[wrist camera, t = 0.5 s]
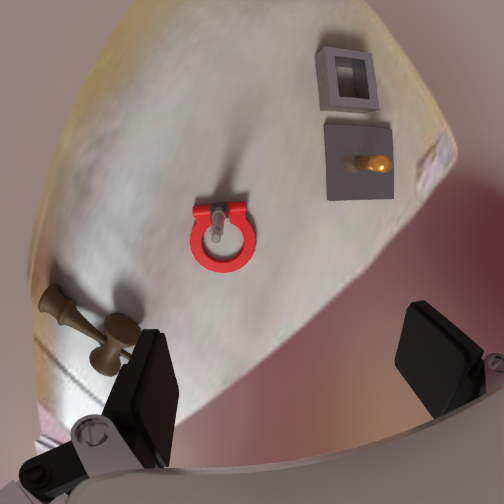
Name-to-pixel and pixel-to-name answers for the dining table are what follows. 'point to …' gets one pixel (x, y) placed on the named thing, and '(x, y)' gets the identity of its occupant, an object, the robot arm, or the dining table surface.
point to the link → (362, 80)
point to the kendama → (94, 330)
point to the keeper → (358, 162)
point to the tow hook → (216, 217)
